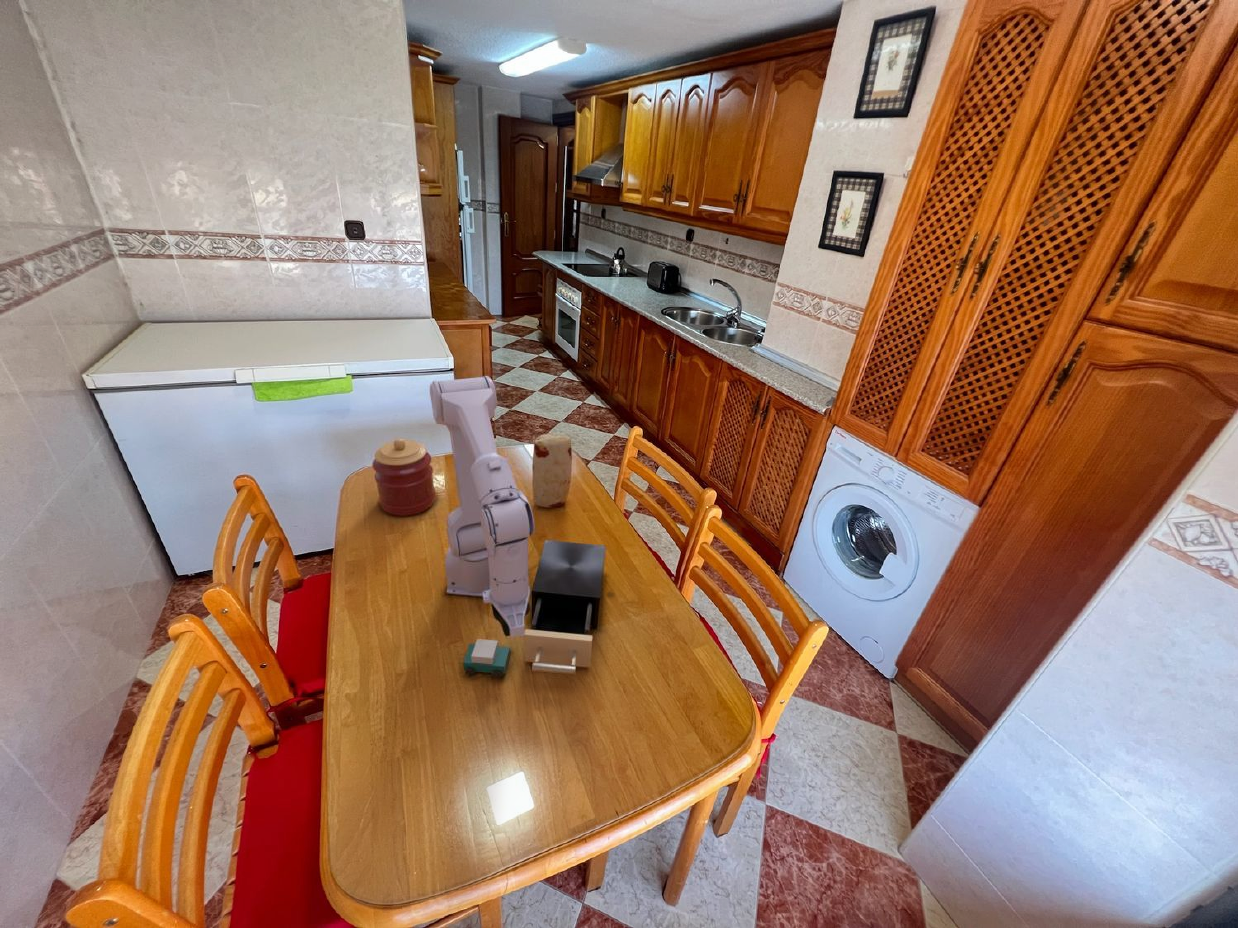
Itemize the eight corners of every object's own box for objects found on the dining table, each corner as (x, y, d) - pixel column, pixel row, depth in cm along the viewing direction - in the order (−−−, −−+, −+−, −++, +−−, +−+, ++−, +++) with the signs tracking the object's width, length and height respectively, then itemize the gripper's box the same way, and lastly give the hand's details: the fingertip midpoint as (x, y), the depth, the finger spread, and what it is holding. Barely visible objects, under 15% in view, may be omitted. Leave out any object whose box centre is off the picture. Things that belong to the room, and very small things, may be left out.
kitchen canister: (429, 482, 131) (421, 423, 123) (442, 509, 122) (434, 446, 113) (376, 494, 125) (363, 432, 116) (385, 522, 116) (372, 457, 107)
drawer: (587, 689, 82) (589, 663, 79) (519, 683, 82) (518, 656, 79) (596, 608, 98) (598, 583, 94) (538, 603, 98) (539, 577, 94)
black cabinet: (597, 629, 94) (600, 597, 90) (531, 623, 94) (531, 590, 90) (602, 576, 107) (605, 545, 103) (544, 570, 107) (545, 539, 102)
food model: (534, 513, 124) (534, 443, 114) (530, 498, 129) (529, 430, 119) (572, 509, 127) (575, 440, 117) (567, 494, 132) (569, 427, 122)
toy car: (463, 674, 84) (461, 658, 82) (471, 650, 88) (470, 634, 86) (504, 678, 84) (503, 662, 82) (511, 654, 88) (510, 638, 86)
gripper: (476, 542, 78) (481, 604, 85) (486, 611, 67) (491, 675, 74) (521, 536, 81) (522, 596, 88) (538, 601, 69) (538, 664, 76)
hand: (511, 631), depth 81 cm, fingers closed
